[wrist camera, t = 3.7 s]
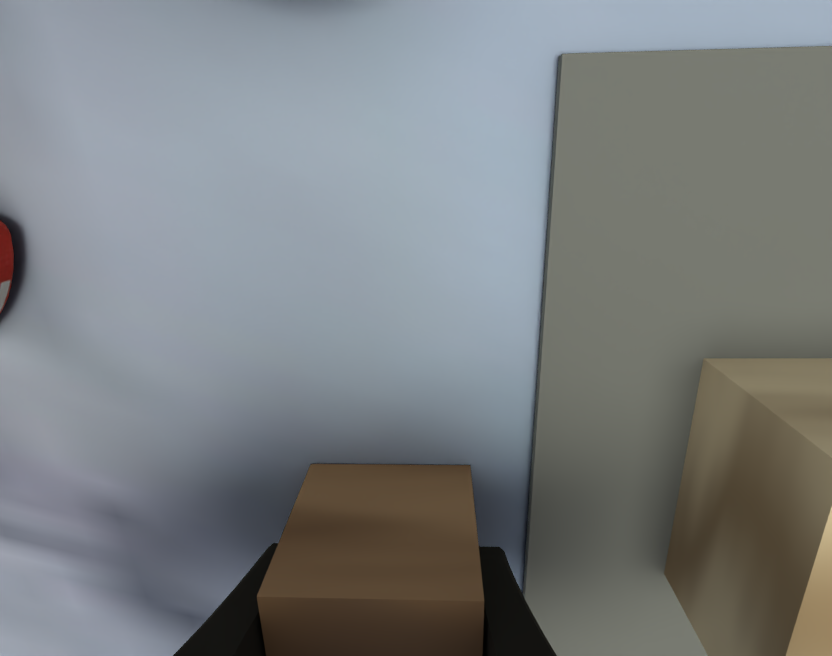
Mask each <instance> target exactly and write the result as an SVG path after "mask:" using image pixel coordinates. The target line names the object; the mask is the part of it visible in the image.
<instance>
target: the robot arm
mask: <svg viewBox="0 0 832 656" xmlns="http://www.w3.org/2000/svg"><path fill="white" fill-rule="evenodd" d="M277 546H278V543H273V544H272V545H270V546H269V547H268V549H267V550H266V551H265V552H264V553H263V555H262V556H261V557H260V558H259V560H258V561H257V562H256V563H255V565H254V566H253V567H252V568H251V569H250V571H249V572H248V573H247V574H246V575H245V577H244V578H243V579H242V580H241V581H240V583H239V584H238V585H237V586H236V587H235V589H234V590H233V591H232V592H231V593H230V594H229V596H228V597H227V598H226V599H225V600H224V601H223V602H222V604H221V605H220V606H219V607H218V608H217V609H216V610H215V611H214V613H213V614H212V615H211V616H210V617H209V618H208V619H207V620H206V622H205V623H204V624H203V625H202V626H201V627H200V628H199V629H198V630H197V631H196V632H195V633H194V634H193V635H192V636H191V637H190V639H189V640H188V641H187V642H186V643H185V644H184V645H183V646H182V647H181V648H180V649H179V650H178V651H177V652H176V653H175V654H174V655H173V656H266V652H265V645H264V639H263V633H262V627H261V621H260V614H259V608H258V602H257V594H258V592H259V590H260V587H261V585H262V582H263V580H264V577H265V575H266V572H267V570H268V568H269V565H270V563H271V560H272V558H273V555H274V553H275V550H276V548H277ZM479 555H480V564H481V574H482V584H483V593H484V625H483V654H482V656H557V655H556V653H555V652H554V650H553V649H552V647H551V645H550V643H549V642H548V640H547V638H546V637H545V635H544V633H543V631H542V630H541V628H540V626H539V624H538V622H537V621H536V619H535V617H534V615H533V613H532V612H531V610H530V608H529V606H528V604H527V602H526V600H525V598H524V596H523V594H522V592H521V590H520V588H519V586H518V584H517V582H516V580H515V577H514V575H513V573H512V571H511V568H510V566H509V563H508V561H507V558H506V555H505V552H504V551H503V550H502V549H501V548H500V547H479Z"/></svg>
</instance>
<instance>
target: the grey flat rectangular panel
mask: <svg viewBox="0 0 832 656" xmlns="http://www.w3.org/2000/svg"><path fill="white" fill-rule="evenodd" d="M704 358H832V46H815V47H781V48H746V49H711V50H676V51H641V52H607V53H572V54H562V55H560V56H559V60H558V75H557V90H556V105H555V120H554V135H553V150H552V165H551V180H550V195H549V210H548V225H547V240H546V255H545V270H544V285H543V300H542V315H541V330H540V345H539V360H538V375H537V390H536V405H535V420H534V434H533V449H532V464H531V479H530V494H529V509H528V524H527V539H526V554H525V569H524V584H523V596H524V598H525V600H526V602H527V604H528V606H529V608H530V610H531V612H532V613H533V615H534V617H535V619H536V621H537V622H538V624H539V626H540V628H541V630H542V631H543V633H544V635H545V637H546V638H547V640H548V642H549V643H550V645H551V647H552V649H553V650H554V652H555V653H556V655H557V656H708V655H707V653H706V651H705V649H704V647H703V645H702V644H701V642H700V640H699V638H698V636H697V634H696V632H695V631H694V629H693V627H692V625H691V623H690V621H689V619H688V618H687V616H686V614H685V612H684V610H683V608H682V606H681V604H680V603H679V601H678V599H677V597H676V595H675V593H674V591H673V590H672V588H671V586H670V584H669V582H668V580H667V578H666V577H665V575H664V571H665V565H666V560H667V554H668V549H669V544H670V538H671V533H672V527H673V522H674V516H675V511H676V506H677V500H678V495H679V489H680V484H681V478H682V473H683V468H684V462H685V457H686V451H687V446H688V440H689V435H690V430H691V424H692V419H693V413H694V408H695V403H696V397H697V392H698V386H699V381H700V375H701V370H702V365H703V359H704Z"/></svg>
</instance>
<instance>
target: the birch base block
mask: <svg viewBox="0 0 832 656" xmlns="http://www.w3.org/2000/svg"><path fill="white" fill-rule="evenodd" d="M664 575H665V577H666V578H667V580H668V582H669V584H670V586H671V588H672V590H673V591H674V593H675V595H676V597H677V599H678V601H679V603H680V604H681V606H682V608H683V610H684V612H685V614H686V616H687V618H688V619H689V621H690V623H691V625H692V627H693V629H694V631H695V632H696V634H697V636H698V638H699V640H700V642H701V644H702V645H703V647H704V649H705V651H706V653H707V655H708V656H832V358H704V359H703V365H702V370H701V375H700V381H699V386H698V392H697V397H696V403H695V408H694V413H693V419H692V424H691V430H690V435H689V440H688V446H687V451H686V457H685V462H684V468H683V473H682V478H681V484H680V489H679V495H678V500H677V506H676V511H675V516H674V522H673V527H672V533H671V538H670V544H669V549H668V554H667V560H666V565H665V571H664Z"/></svg>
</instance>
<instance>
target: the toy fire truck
mask: <svg viewBox="0 0 832 656" xmlns="http://www.w3.org/2000/svg"><path fill="white" fill-rule="evenodd" d="M13 261H14V252H13V245H12V239H11V234H10V232H9V230H8V228H7V226H6V225H5V224H4V223H3V222H1V221H0V313H1V311H2V310H3V308H4V306H5V304H6V301H7V299H8V297H9V291H10V289H11V282H12V275H13Z"/></svg>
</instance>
